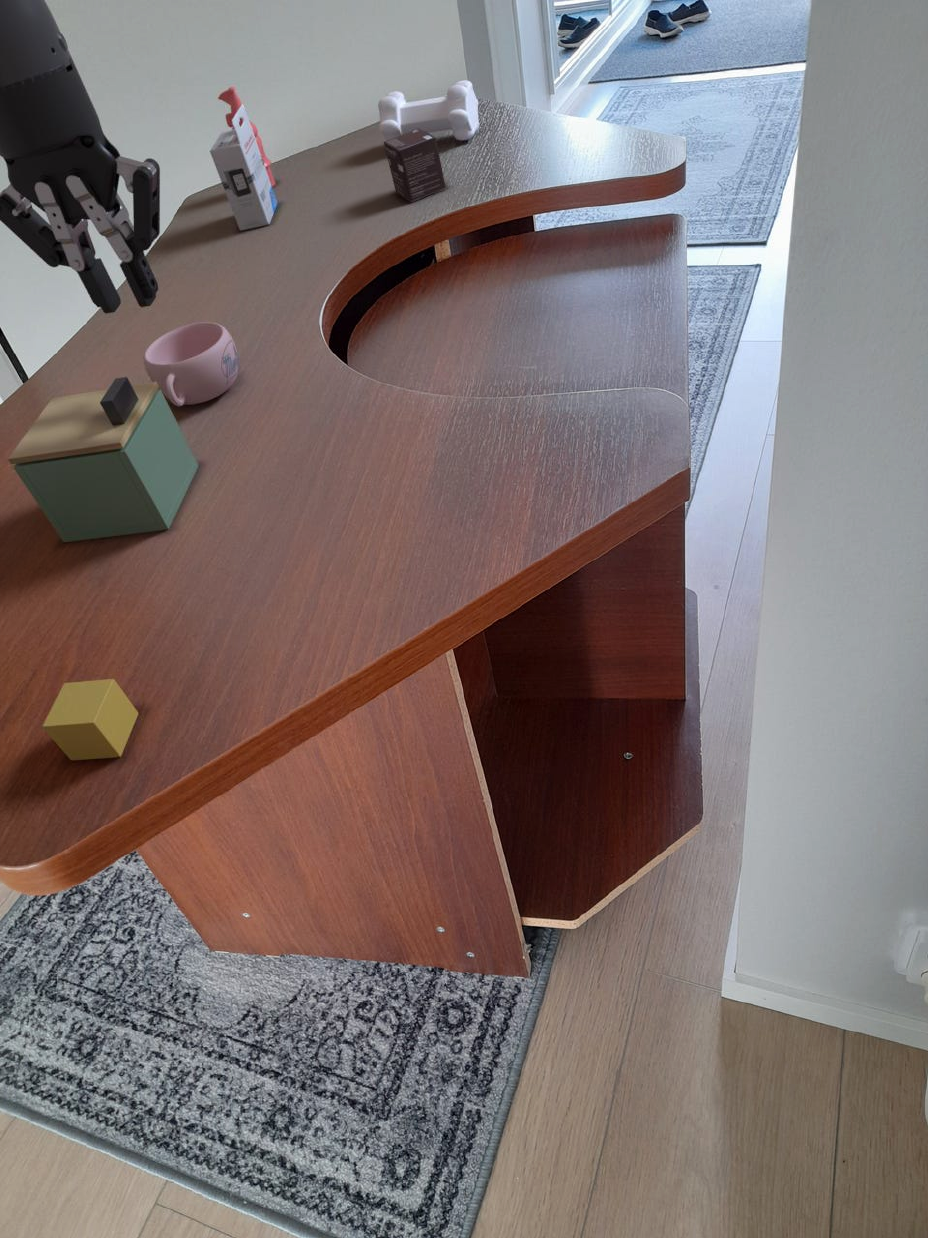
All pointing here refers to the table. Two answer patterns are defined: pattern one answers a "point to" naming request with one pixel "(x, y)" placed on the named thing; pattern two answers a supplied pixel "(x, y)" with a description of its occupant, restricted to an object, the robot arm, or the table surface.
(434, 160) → the box
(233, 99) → the figurine
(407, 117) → the dog bone
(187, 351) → the mug
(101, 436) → the slide door
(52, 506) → the case
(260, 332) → the table surface
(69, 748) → the block
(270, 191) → the ink box
